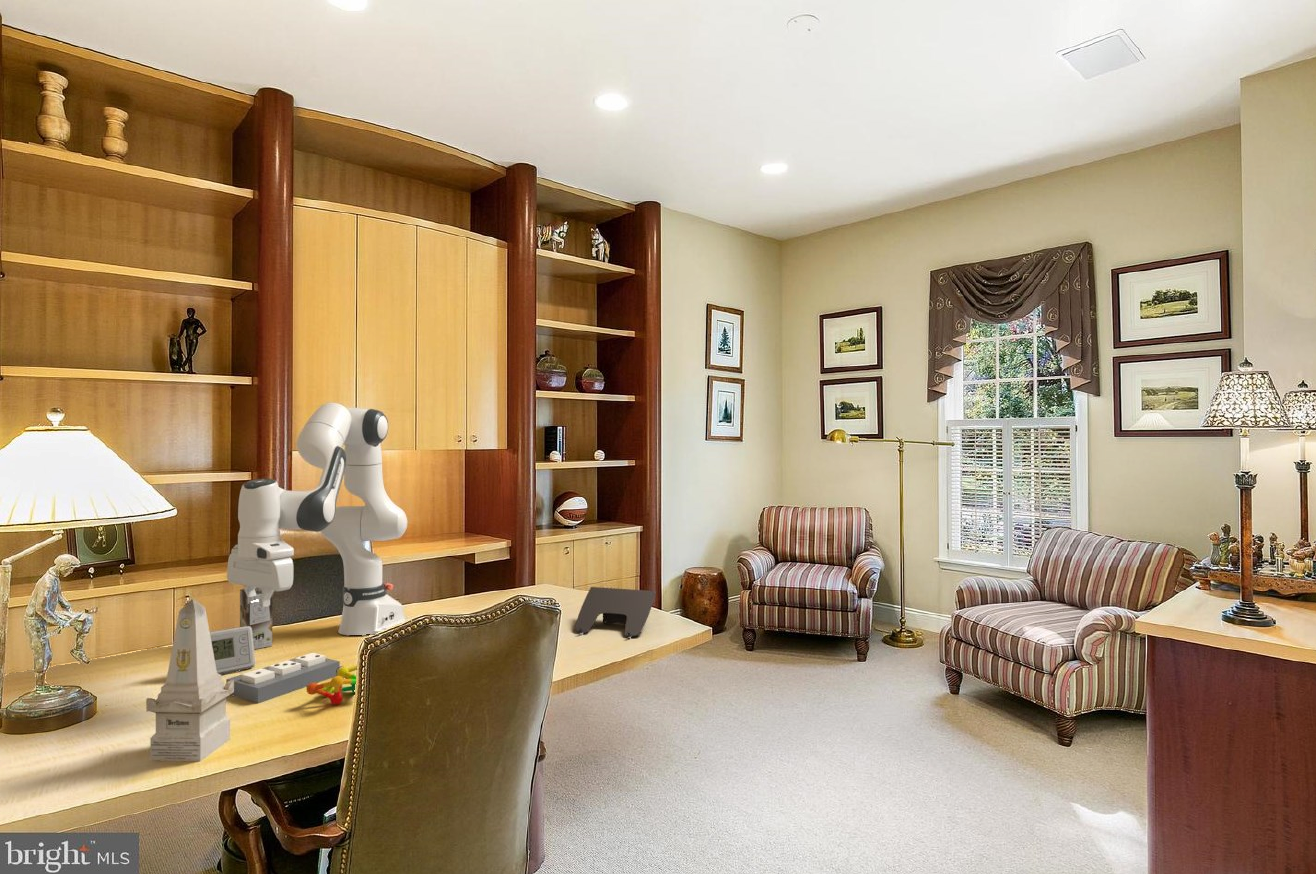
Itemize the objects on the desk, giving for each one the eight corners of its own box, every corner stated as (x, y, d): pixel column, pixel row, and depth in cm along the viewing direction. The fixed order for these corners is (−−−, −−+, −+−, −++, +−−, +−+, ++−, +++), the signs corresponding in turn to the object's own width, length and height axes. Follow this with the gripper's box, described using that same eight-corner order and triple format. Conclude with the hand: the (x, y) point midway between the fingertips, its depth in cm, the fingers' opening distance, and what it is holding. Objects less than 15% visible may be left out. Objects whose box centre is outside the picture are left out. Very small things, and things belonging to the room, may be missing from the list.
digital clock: (181, 683, 177) (181, 640, 177) (181, 673, 185) (182, 631, 185) (256, 672, 186) (256, 631, 186) (253, 662, 194) (254, 623, 193)
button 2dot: (312, 664, 187) (312, 652, 187) (325, 667, 185) (325, 655, 185) (295, 669, 183) (295, 657, 183) (308, 673, 181) (308, 660, 181)
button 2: (287, 672, 181) (288, 659, 181) (300, 675, 179) (301, 662, 179) (269, 678, 177) (269, 665, 177) (282, 681, 174) (282, 668, 174)
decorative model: (293, 688, 164) (341, 652, 178) (308, 721, 166) (355, 684, 179) (333, 682, 159) (379, 646, 173) (348, 717, 161) (393, 679, 174)
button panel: (308, 667, 190) (308, 654, 190) (339, 674, 185) (339, 661, 185) (226, 693, 171) (226, 679, 171) (258, 703, 165) (258, 688, 165)
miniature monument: (146, 761, 136) (147, 604, 136) (182, 738, 147) (183, 591, 146) (201, 762, 136) (202, 605, 136) (233, 738, 147) (234, 592, 146)
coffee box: (273, 646, 208) (273, 591, 208) (249, 651, 203) (249, 594, 203) (262, 639, 214) (262, 585, 214) (238, 644, 209) (238, 589, 209)
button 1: (261, 680, 175) (261, 667, 175) (274, 684, 173) (274, 671, 173) (241, 687, 170) (241, 673, 170) (254, 690, 168) (254, 677, 168)
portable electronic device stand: (572, 650, 227) (568, 628, 223) (593, 603, 247) (589, 581, 243) (643, 656, 222) (640, 634, 218) (658, 607, 242) (656, 586, 238)
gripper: (219, 545, 173) (219, 602, 173) (273, 553, 164) (273, 613, 164) (245, 541, 179) (244, 597, 179) (298, 549, 169) (298, 607, 170)
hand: (258, 605), depth 171 cm, fingers open, 3 cm apart
